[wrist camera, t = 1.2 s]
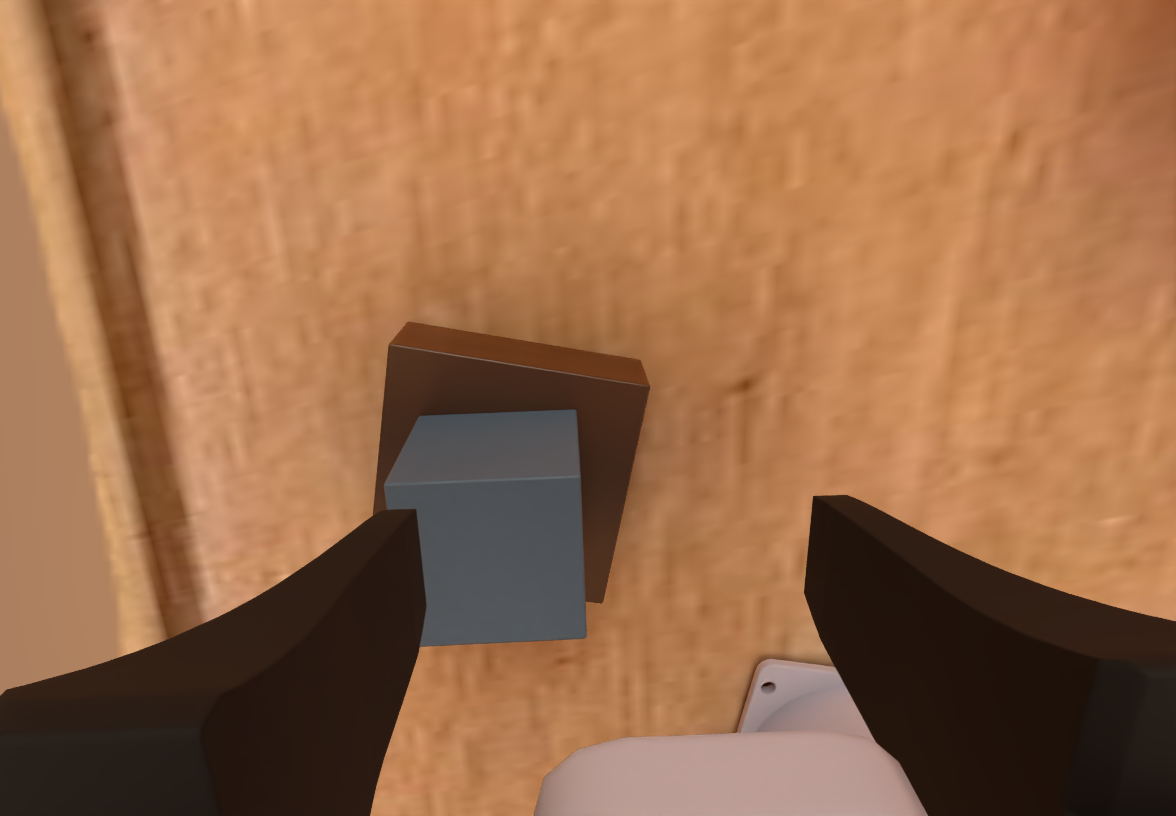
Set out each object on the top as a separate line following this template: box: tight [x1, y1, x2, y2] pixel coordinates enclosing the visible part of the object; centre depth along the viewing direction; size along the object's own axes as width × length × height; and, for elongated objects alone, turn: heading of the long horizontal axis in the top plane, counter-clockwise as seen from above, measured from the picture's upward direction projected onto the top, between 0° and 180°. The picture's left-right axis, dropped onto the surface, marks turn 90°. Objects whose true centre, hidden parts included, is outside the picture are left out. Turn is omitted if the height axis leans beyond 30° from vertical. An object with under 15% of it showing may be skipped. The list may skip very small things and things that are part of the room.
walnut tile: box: [373, 322, 650, 603], centre depth 23 cm, size 7×7×3 cm
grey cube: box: [384, 409, 587, 647], centre depth 19 cm, size 4×4×4 cm
